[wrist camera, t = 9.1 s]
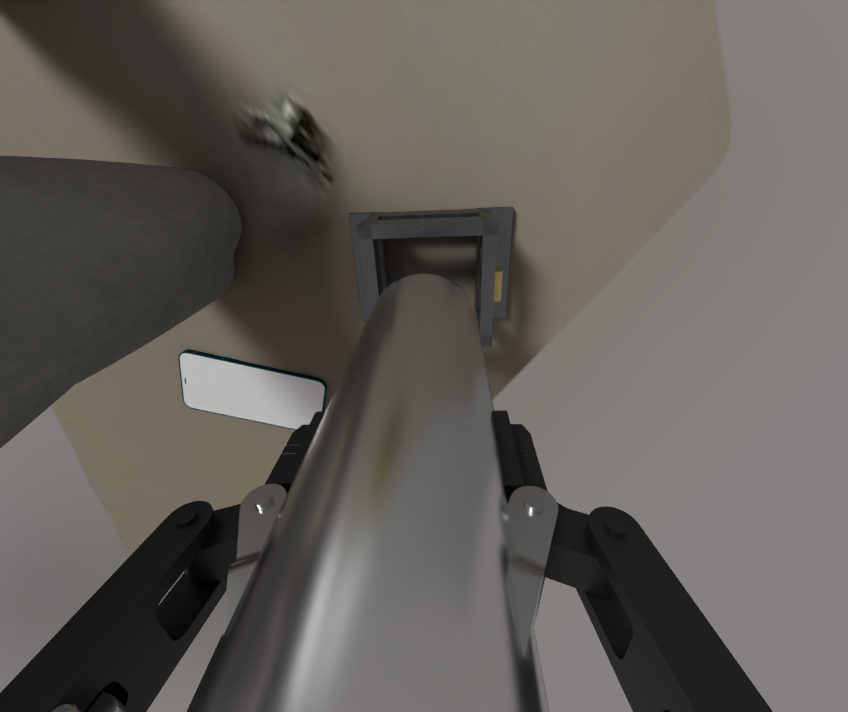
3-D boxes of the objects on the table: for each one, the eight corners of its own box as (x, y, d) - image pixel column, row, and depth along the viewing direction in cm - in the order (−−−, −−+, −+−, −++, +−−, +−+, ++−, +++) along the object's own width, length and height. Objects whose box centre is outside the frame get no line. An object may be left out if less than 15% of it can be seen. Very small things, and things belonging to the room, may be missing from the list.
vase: (267, 306, 37) (-154, 678, 11) (142, 279, 36) (-628, 608, 10) (268, 174, 31) (-633, 295, 5) (119, 138, 31) (-1831, 65, 4)
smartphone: (328, 377, 42) (182, 345, 40) (326, 382, 41) (177, 349, 40) (321, 430, 46) (188, 402, 44) (319, 435, 45) (183, 407, 43)
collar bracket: (364, 318, 37) (349, 348, 32) (350, 213, 33) (330, 226, 27) (504, 315, 36) (515, 346, 31) (512, 206, 32) (526, 219, 26)
